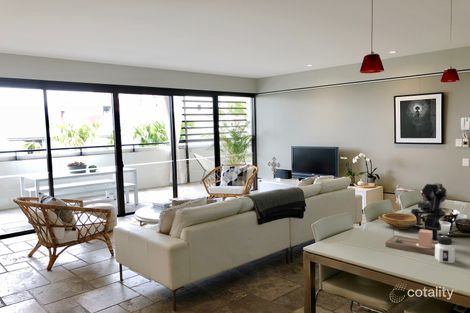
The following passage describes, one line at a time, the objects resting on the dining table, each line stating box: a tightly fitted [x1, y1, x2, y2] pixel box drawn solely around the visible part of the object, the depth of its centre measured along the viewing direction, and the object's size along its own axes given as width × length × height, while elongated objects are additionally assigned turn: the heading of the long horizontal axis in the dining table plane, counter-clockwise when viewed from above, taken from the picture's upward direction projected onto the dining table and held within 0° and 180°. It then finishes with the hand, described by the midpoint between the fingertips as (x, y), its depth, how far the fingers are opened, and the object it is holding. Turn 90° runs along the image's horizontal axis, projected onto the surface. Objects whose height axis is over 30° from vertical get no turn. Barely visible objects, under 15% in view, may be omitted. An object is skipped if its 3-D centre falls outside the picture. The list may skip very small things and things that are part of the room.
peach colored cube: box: [418, 228, 433, 248], centre depth 217 cm, size 6×6×8 cm
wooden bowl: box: [378, 212, 423, 230], centre depth 270 cm, size 30×24×8 cm
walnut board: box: [385, 234, 438, 257], centre depth 224 cm, size 18×28×5 cm, turn 50°
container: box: [434, 235, 456, 264], centre depth 201 cm, size 8×8×13 cm
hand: (425, 225), depth 225 cm, fingers open, 9 cm apart
